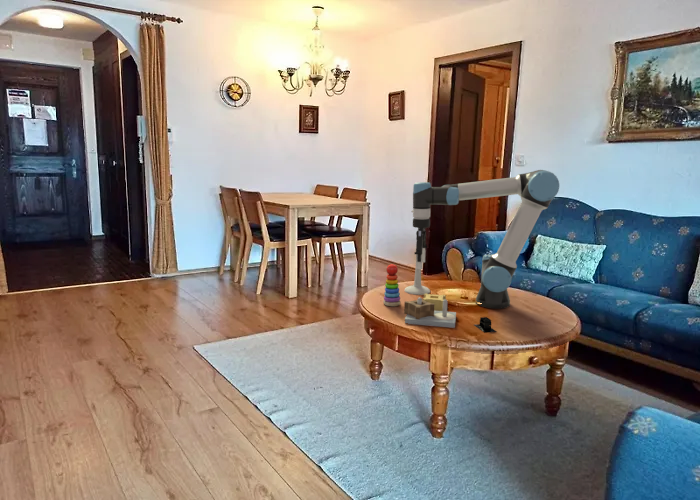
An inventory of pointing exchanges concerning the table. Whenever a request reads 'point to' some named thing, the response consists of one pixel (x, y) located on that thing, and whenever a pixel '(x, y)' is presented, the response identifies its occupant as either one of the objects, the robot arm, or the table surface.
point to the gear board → (434, 317)
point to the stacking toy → (392, 287)
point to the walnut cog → (419, 309)
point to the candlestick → (417, 285)
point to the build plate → (485, 325)
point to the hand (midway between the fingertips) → (420, 265)
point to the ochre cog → (435, 300)
